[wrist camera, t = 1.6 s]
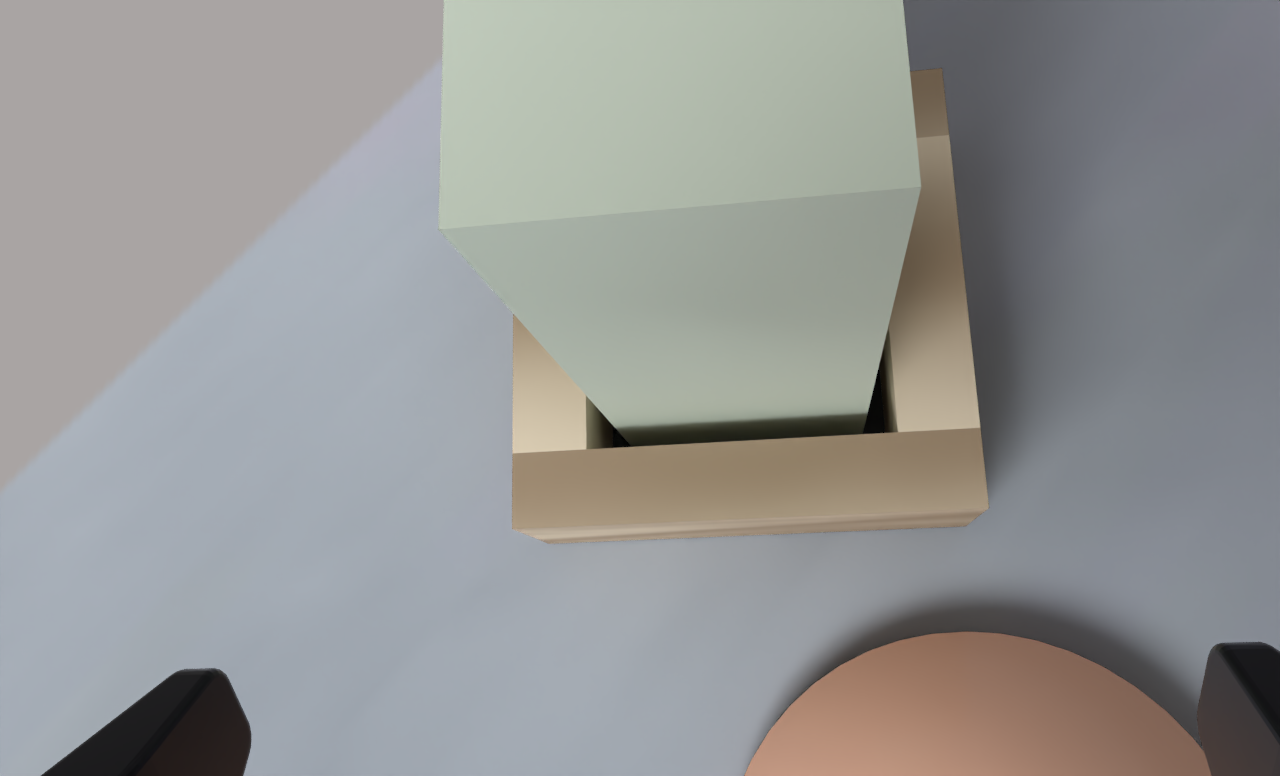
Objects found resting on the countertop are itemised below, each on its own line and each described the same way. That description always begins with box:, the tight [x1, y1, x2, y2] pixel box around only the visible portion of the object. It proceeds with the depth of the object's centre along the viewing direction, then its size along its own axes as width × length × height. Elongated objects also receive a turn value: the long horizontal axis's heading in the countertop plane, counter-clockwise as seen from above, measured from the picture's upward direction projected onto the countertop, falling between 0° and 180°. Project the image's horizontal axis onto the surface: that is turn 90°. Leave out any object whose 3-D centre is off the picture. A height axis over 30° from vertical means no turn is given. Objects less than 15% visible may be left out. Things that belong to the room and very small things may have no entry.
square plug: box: [438, 0, 921, 447], centre depth 18 cm, size 5×5×13 cm
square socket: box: [512, 68, 989, 544], centre depth 22 cm, size 9×9×3 cm
